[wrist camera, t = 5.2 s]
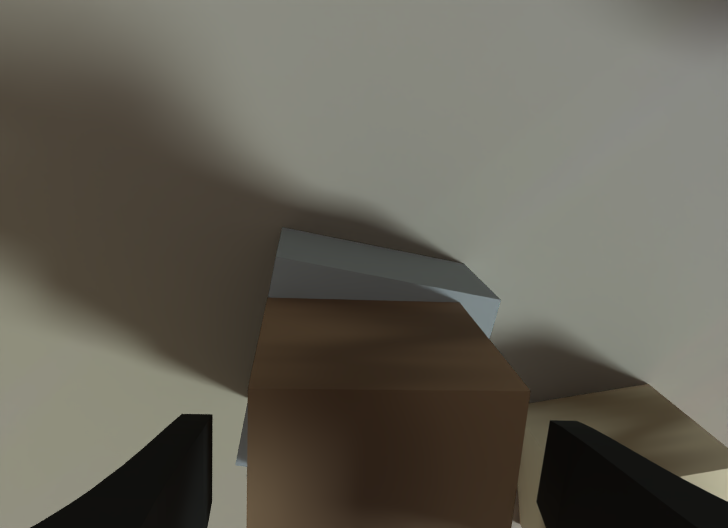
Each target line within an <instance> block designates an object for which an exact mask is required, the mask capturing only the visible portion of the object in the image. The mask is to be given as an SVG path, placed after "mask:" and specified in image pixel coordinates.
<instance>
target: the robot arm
mask: <svg viewBox="0 0 728 528" xmlns="http://www.w3.org/2000/svg"><path fill="white" fill-rule="evenodd" d="M536 502H537V505H538V508H539V511H540V513H541V516H542V519H543V522H544V524H545V527H546V528H728V501H725V500H723V499H721V498H719V497H717V496H715V495H713V494H711V493H709V492H707V491H705V490H704V489H702V488H700V487H698V486H696V485H694V484H692V483H690V482H688V481H686V480H684V479H682V478H681V477H679V476H677V475H675V474H673V473H671V472H670V471H668V470H666V469H664V468H662V467H661V466H659V465H657V464H655V463H654V462H652V461H650V460H648V459H647V458H645V457H643V456H641V455H640V454H638V453H636V452H634V451H633V450H631V449H629V448H627V447H626V446H624V445H622V444H621V443H619V442H617V441H615V440H614V439H612V438H610V437H608V436H606V435H605V434H603V433H601V432H599V431H597V430H595V429H593V428H592V427H590V426H588V425H585V424H583V423H581V422H579V421H562V420H550V423H549V429H548V435H547V441H546V447H545V453H544V459H543V464H542V470H541V476H540V482H539V488H538V494H537V500H536ZM211 504H212V415H210V414H181V415H180V416H179V417H178V418H177V419H176V420H174V421H173V422H172V423H171V424H170V425H169V426H168V427H166V428H165V429H164V430H163V431H162V432H161V433H160V434H159V435H157V436H156V437H155V438H154V439H153V440H152V441H151V442H150V443H148V444H147V445H146V446H145V447H144V448H143V449H142V450H140V451H139V452H138V453H137V454H136V455H134V456H133V457H132V458H131V459H130V460H129V461H127V462H126V463H125V464H124V465H123V466H121V467H120V468H119V469H117V470H116V471H115V472H113V473H112V474H111V475H109V476H108V477H107V478H105V479H104V480H103V481H102V482H100V483H99V484H98V485H96V486H95V487H94V488H92V489H91V490H90V491H88V492H87V493H85V494H84V495H82V496H81V497H79V498H78V499H76V500H75V501H73V502H72V503H70V504H69V505H67V506H66V507H64V508H62V509H61V510H59V511H58V512H56V513H54V514H53V515H51V516H50V517H48V518H46V519H45V520H43V521H41V522H40V523H38V524H36V525H34V526H33V527H31V528H207V526H208V521H209V515H210V510H211Z"/></svg>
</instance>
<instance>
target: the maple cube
mask: <svg viewBox="0 0 728 528" xmlns="http://www.w3.org/2000/svg"><path fill="white" fill-rule="evenodd" d="M550 420H562V421H579V422H581V423H583V424H585V425H588V426H590V427H592V428H593V429H595V430H597V431H599V432H601V433H603V434H605V435H606V436H608V437H610V438H612V439H614V440H615V441H617V442H619V443H621V444H622V445H624V446H626V447H627V448H629V449H631V450H633V451H634V452H636V453H638V454H640V455H641V456H643V457H645V458H647V459H648V460H650V461H652V462H654V463H655V464H657V465H659V466H661V467H662V468H664V469H666V470H668V471H670V472H671V473H673V474H675V475H677V476H679V477H681V478H682V479H684V480H686V481H688V482H690V483H692V484H694V485H696V486H698V487H700V488H702V489H704V490H705V491H707V492H709V493H711V494H713V495H715V496H717V497H719V498H721V499H723V500H725V501H728V448H727V447H726V446H725V445H723V444H722V443H721V442H720V441H718V440H717V439H716V438H715V437H713V436H712V435H711V434H710V433H708V432H707V431H706V430H705V429H703V428H702V427H701V426H700V425H699V424H697V423H696V422H695V421H694V420H692V419H691V418H690V417H689V416H687V415H686V414H685V413H684V412H682V411H681V410H680V409H679V408H677V407H676V406H675V405H674V404H672V403H671V402H670V401H669V400H668V399H666V398H665V397H664V396H663V395H661V394H660V393H659V392H658V391H656V390H655V389H654V388H653V387H651V386H650V385H649V384H644V385H638V386H632V387H626V388H620V389H614V390H607V391H601V392H595V393H589V394H583V395H577V396H571V397H565V398H558V399H552V400H546V401H540V402H534V403H529V406H528V413H527V420H526V427H525V434H524V441H523V448H522V455H521V462H520V469H519V476H518V499H519V514H520V525H521V527H522V528H546V527H545V524H544V522H543V519H542V516H541V513H540V511H539V508H538V505H537V502H536V500H537V494H538V488H539V482H540V476H541V470H542V464H543V459H544V453H545V447H546V441H547V435H548V429H549V423H550Z"/></svg>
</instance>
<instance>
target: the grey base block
mask: <svg viewBox="0 0 728 528" xmlns="http://www.w3.org/2000/svg"><path fill="white" fill-rule="evenodd" d="M268 297H269V298H308V299H347V300H386V301H425V302H460V303H461V305H462V306H463V307H464V308H465V310H466V311H467V312H468V313H469V315H470V316H471V317H472V318H473V320H474V321H475V322H476V323H477V325H478V326H479V327H480V328H481V330H482V331H483V332H484V333H485V335H486V336H487V337H488V338H489V339H490V336H491V332H492V329H493V325H494V322H495V319H496V315H497V312H498V308H499V305H500V302H501V300H500V299H499V298H498V297H497V296H496V295H495V294H494V293H493V292H492V291H491V290H490V289H489V288H488V287H487V286H486V285H485V284H484V283H483V282H482V281H481V280H480V279H479V278H478V277H477V276H476V275H475V274H474V273H473V272H472V271H471V270H470V269H469V268H468V267H467V266H466V265H465V264H463V263H458V262H453V261H448V260H443V259H438V258H433V257H428V256H423V255H418V254H413V253H408V252H403V251H398V250H393V249H388V248H383V247H378V246H373V245H369V244H364V243H359V242H354V241H349V240H344V239H339V238H334V237H329V236H324V235H319V234H314V233H309V232H304V231H299V230H294V229H289V228H284V227H282V231H281V236H280V240H279V245H278V249H277V254H276V259H275V264H274V269H273V274H272V279H271V284H270V290H269V295H268ZM247 431H248V403H247V408H246V413H245V418H244V424H243V429H242V434H241V439H240V444H239V449H238V455H237V460H236V465H238V466H246V467H247Z"/></svg>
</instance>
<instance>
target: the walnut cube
mask: <svg viewBox="0 0 728 528" xmlns="http://www.w3.org/2000/svg"><path fill="white" fill-rule="evenodd" d="M530 392H531V391H530V390H529V388H528V387H527V386H526V385H525V383H524V382H523V381H522V380H521V378H520V377H519V376H518V375H517V373H516V372H515V371H514V370H513V368H512V367H511V366H510V365H509V363H508V362H507V361H506V360H505V358H504V357H503V356H502V355H501V353H500V352H499V351H498V350H497V348H496V347H495V346H494V345H493V343H492V342H491V341H490V340H489V338H488V337H487V336H486V335H485V333H484V332H483V331H482V330H481V328H480V327H479V326H478V325H477V323H476V322H475V321H474V320H473V318H472V317H471V316H470V315H469V313H468V312H467V311H466V310H465V308H464V307H463V306H462V305H461V303H460V302H425V301H386V300H347V299H308V298H269V297H268V298H267V302H266V307H265V312H264V316H263V321H262V325H261V330H260V335H259V339H258V344H257V349H256V353H255V358H254V362H253V367H252V372H251V376H250V381H249V386H248V431H247V528H511V525H512V518H513V511H514V504H515V497H516V490H517V483H518V476H519V469H520V462H521V455H522V448H523V441H524V434H525V427H526V420H527V413H528V406H529V399H530Z"/></svg>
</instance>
